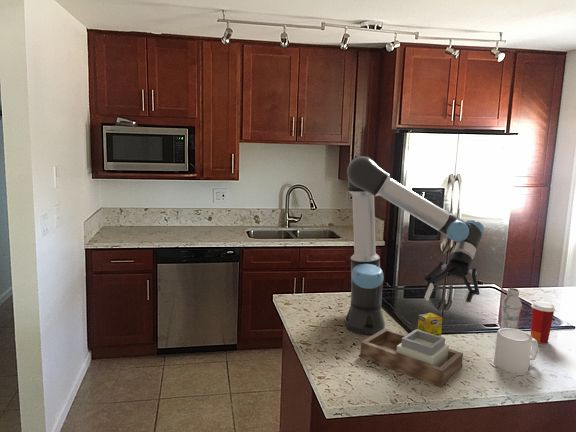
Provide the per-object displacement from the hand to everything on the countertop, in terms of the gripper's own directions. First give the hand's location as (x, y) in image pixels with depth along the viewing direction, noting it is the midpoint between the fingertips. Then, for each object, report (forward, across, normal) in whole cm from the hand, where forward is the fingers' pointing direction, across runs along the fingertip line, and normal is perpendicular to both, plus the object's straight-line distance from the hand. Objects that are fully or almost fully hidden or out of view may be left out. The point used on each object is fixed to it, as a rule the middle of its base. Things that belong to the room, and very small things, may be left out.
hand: (443, 304), depth 169 cm
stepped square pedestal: (+26, -4, +10) cm, 28 cm away
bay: (+27, 0, +9) cm, 28 cm away
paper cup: (-7, -28, -26) cm, 39 cm away
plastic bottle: (0, -19, -19) cm, 27 cm away
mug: (+12, -26, -7) cm, 30 cm away
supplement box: (+16, +1, -3) cm, 16 cm away
